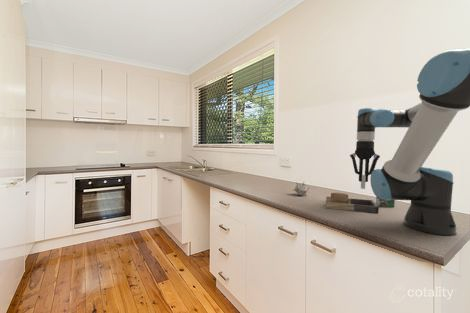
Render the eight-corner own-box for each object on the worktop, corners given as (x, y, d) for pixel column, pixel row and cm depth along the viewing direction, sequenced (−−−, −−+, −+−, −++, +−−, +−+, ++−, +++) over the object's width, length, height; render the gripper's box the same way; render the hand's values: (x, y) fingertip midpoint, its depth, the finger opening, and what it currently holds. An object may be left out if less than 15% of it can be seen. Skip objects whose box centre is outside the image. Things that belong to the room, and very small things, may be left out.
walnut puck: (348, 209, 109) (349, 197, 109) (331, 207, 112) (331, 195, 111) (346, 204, 117) (346, 193, 116) (330, 203, 119) (330, 192, 119)
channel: (378, 213, 102) (378, 207, 102) (326, 208, 110) (327, 202, 110) (372, 206, 115) (372, 200, 114) (326, 201, 122) (326, 196, 122)
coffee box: (378, 207, 112) (380, 181, 112) (375, 205, 115) (376, 180, 114) (394, 207, 112) (396, 181, 112) (390, 205, 115) (392, 180, 114)
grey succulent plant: (303, 202, 135) (310, 191, 129) (290, 196, 136) (296, 185, 130) (305, 192, 142) (312, 181, 136) (292, 187, 143) (298, 176, 137)
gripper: (378, 140, 110) (376, 187, 111) (349, 140, 114) (347, 185, 116) (382, 140, 103) (379, 191, 104) (351, 140, 107) (349, 188, 109)
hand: (362, 188), depth 110 cm, fingers closed
